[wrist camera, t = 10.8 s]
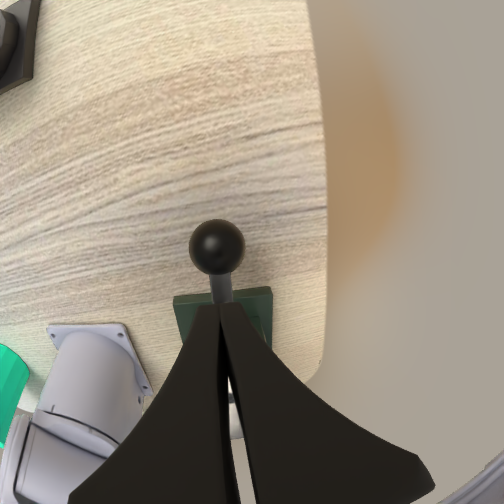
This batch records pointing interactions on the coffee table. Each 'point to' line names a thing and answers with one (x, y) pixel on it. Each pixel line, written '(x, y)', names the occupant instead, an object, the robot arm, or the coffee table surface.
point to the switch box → (17, 43)
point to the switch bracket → (253, 301)
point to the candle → (10, 387)
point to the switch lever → (219, 275)
